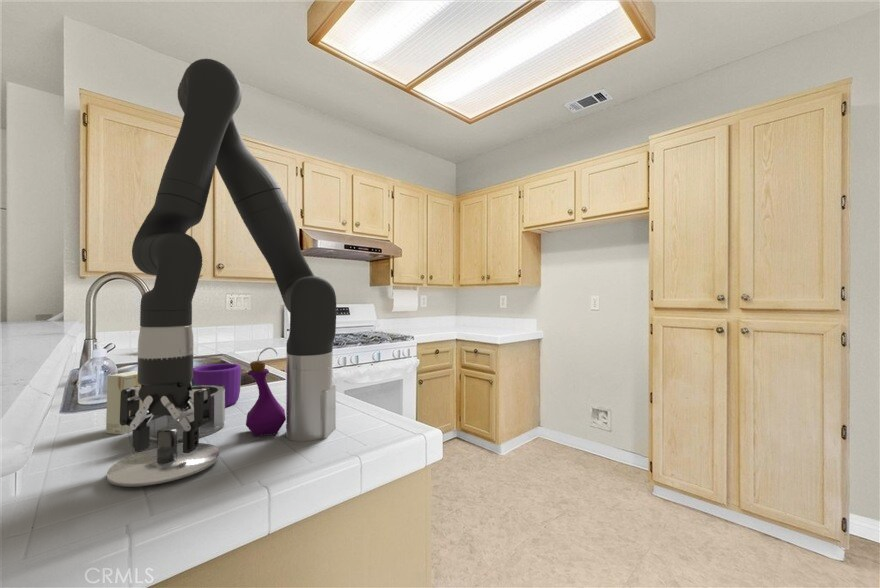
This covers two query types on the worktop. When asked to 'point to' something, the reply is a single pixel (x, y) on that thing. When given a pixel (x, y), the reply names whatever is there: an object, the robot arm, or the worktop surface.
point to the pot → (216, 405)
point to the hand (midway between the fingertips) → (165, 450)
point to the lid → (162, 462)
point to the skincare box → (118, 400)
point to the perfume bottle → (264, 404)
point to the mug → (220, 379)
